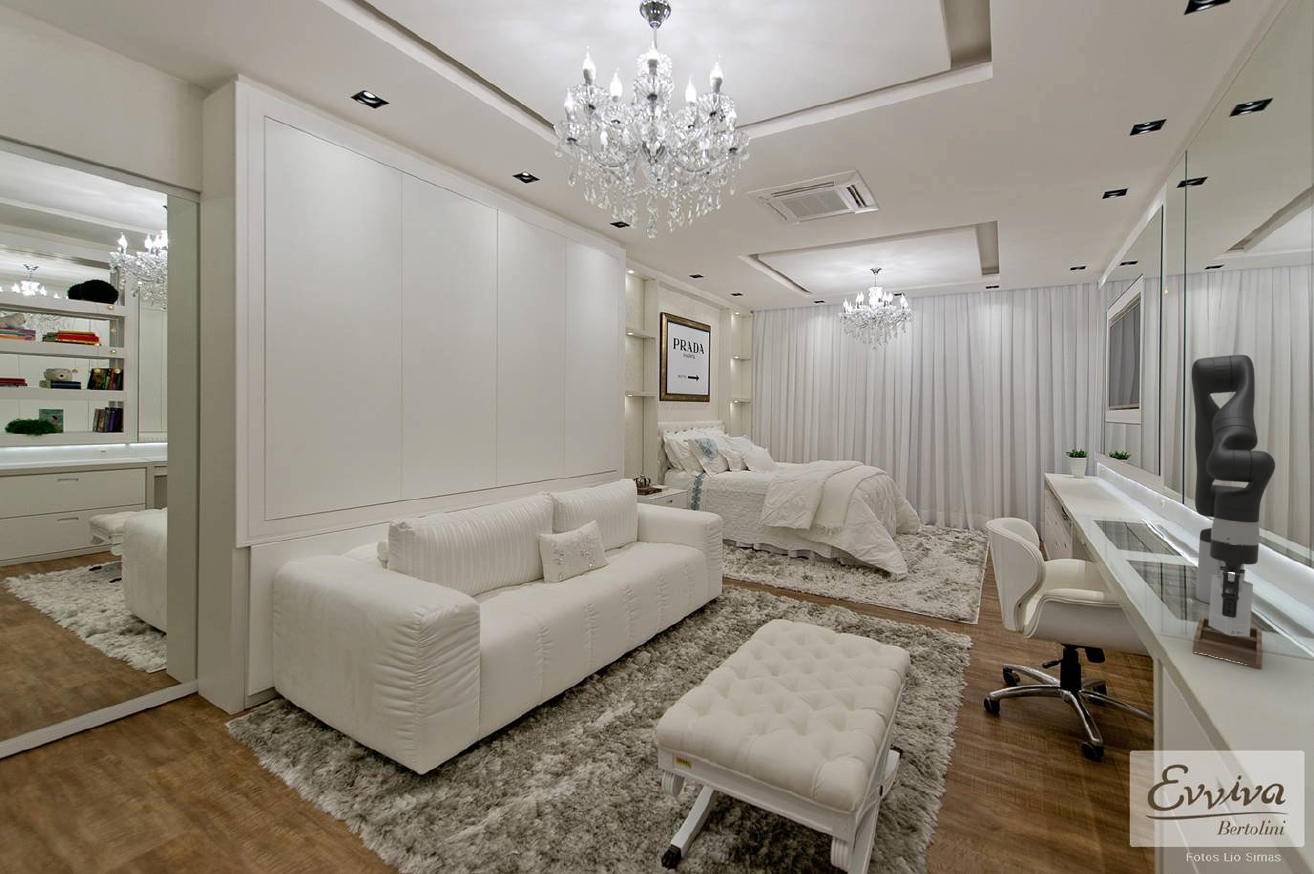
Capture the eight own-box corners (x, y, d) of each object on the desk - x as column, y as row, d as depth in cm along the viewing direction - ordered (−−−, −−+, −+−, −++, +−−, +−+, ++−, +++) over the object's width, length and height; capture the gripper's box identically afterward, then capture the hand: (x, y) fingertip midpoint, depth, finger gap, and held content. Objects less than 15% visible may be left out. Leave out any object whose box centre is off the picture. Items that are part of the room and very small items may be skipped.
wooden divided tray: (1199, 628, 143) (1200, 609, 142) (1260, 641, 135) (1262, 621, 135) (1192, 653, 129) (1194, 631, 128) (1261, 669, 121) (1262, 646, 121)
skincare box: (1250, 637, 125) (1254, 583, 124) (1227, 636, 126) (1231, 582, 125) (1229, 627, 131) (1232, 575, 130) (1207, 625, 132) (1210, 574, 131)
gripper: (1212, 531, 135) (1208, 600, 136) (1209, 541, 125) (1204, 615, 126) (1258, 537, 129) (1253, 608, 130) (1258, 548, 119) (1253, 625, 120)
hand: (1229, 611), depth 128 cm, fingers closed on skincare box, 7 cm apart
